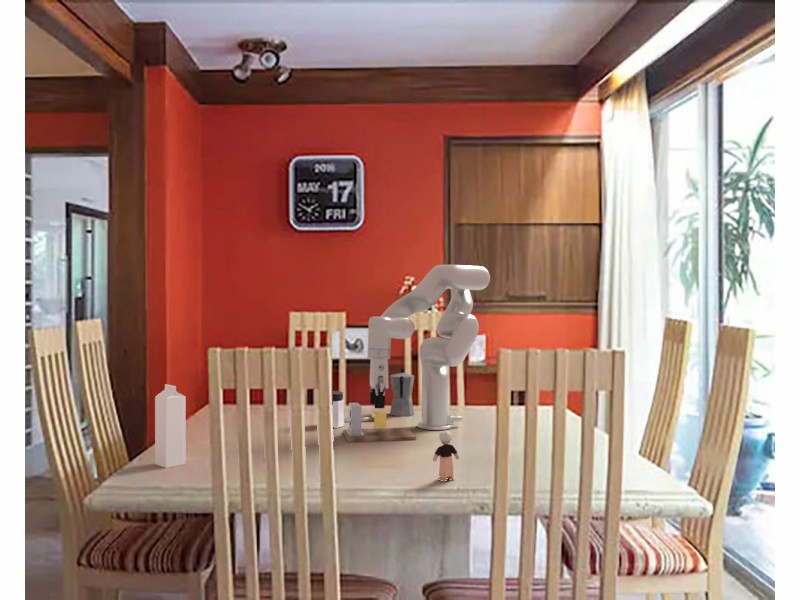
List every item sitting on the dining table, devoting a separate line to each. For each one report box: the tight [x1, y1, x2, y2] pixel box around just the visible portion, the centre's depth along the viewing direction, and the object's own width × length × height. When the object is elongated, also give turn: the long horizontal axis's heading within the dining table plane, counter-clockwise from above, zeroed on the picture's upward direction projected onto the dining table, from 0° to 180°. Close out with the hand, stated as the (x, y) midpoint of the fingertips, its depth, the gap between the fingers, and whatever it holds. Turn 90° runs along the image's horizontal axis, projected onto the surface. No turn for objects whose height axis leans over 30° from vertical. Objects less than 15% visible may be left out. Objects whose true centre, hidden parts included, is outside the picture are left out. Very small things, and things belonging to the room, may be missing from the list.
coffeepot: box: [389, 367, 415, 417], centre depth 280 cm, size 15×9×18 cm, turn 178°
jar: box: [332, 390, 345, 429], centre depth 257 cm, size 9×8×12 cm
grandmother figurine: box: [432, 430, 460, 481], centre depth 188 cm, size 8×4×13 cm, turn 131°
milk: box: [154, 383, 187, 469], centre depth 201 cm, size 6×6×22 cm
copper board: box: [342, 427, 417, 443], centre depth 241 cm, size 22×15×1 cm
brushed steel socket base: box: [345, 402, 365, 437], centre depth 240 cm, size 5×10×10 cm, turn 11°
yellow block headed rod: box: [343, 410, 387, 429], centre depth 240 cm, size 14×5×5 cm, turn 101°
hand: (377, 405), depth 240 cm, fingers open, 9 cm apart
